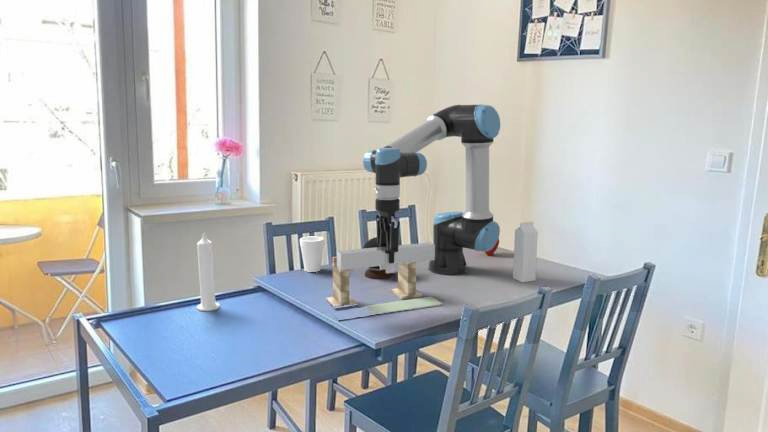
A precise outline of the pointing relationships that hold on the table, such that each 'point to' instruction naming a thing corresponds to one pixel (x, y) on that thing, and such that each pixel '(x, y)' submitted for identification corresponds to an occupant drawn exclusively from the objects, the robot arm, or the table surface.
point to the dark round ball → (376, 271)
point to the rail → (384, 256)
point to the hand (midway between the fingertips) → (387, 270)
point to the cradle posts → (403, 291)
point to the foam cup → (312, 252)
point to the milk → (525, 252)
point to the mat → (404, 305)
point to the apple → (492, 249)
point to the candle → (206, 275)
